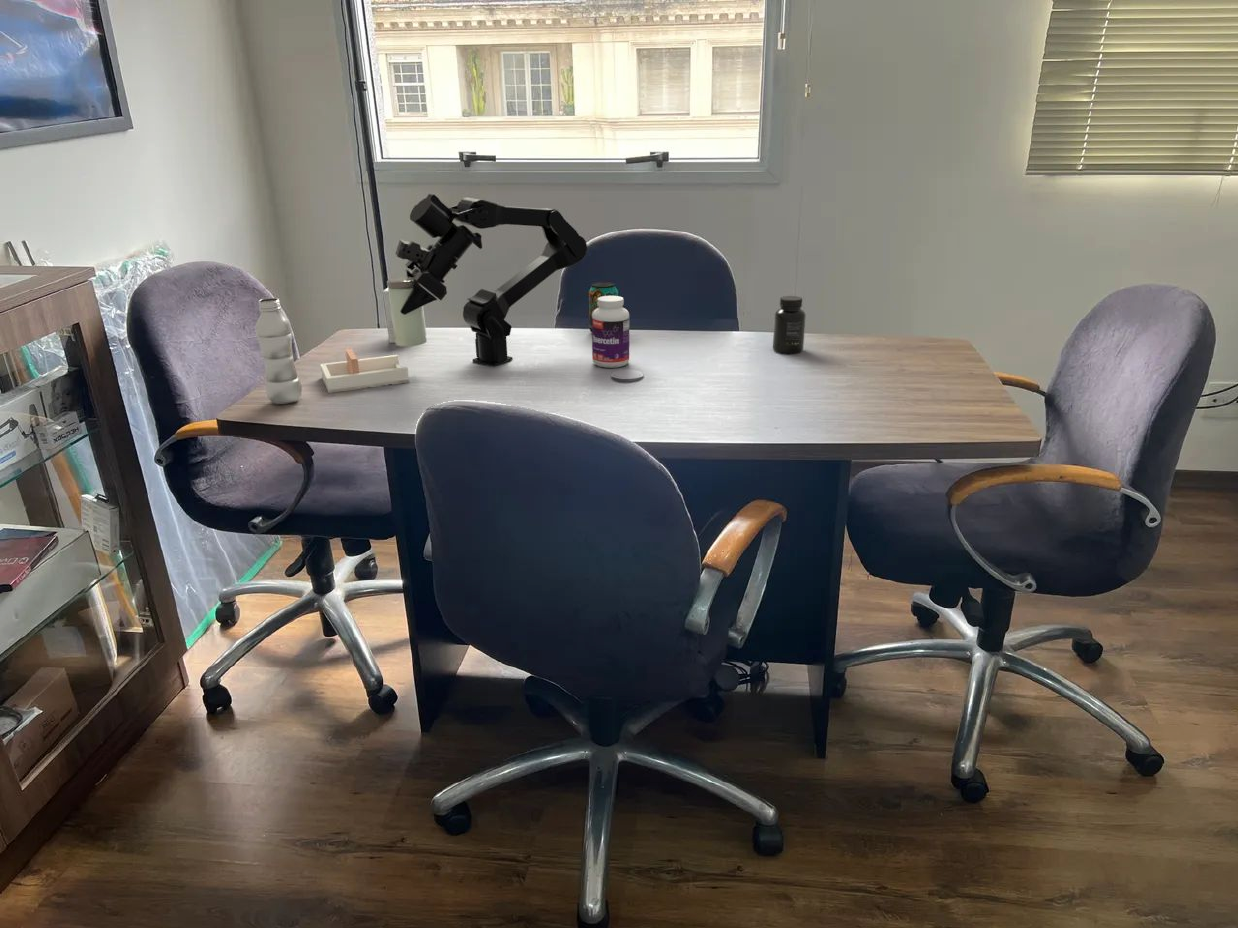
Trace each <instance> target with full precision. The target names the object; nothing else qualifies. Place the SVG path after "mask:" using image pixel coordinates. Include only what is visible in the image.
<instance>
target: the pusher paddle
mask: <svg viewBox="0 0 1238 928" xmlns="http://www.w3.org/2000/svg"><path fill="white" fill-rule="evenodd" d="M345 356H346V361H347V365H348V372H349V374H356V373H359V366H358V357H357V355H356V354H355V352H354V351H353V349H352V348H345Z"/></svg>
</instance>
